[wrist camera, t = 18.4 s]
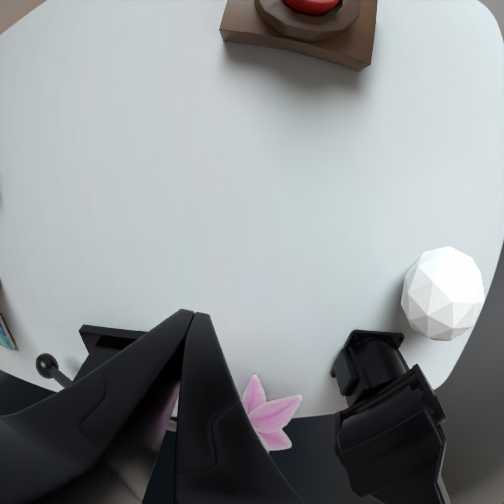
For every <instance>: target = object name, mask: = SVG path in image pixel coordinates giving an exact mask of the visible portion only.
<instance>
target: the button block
mask: <svg viewBox="0 0 504 504" xmlns="http://www.w3.org/2000/svg"><path fill="white" fill-rule="evenodd" d="M376 12H377V0H340V1H339V2H338V4H337V5H336V7H335V8H334V9H333V10H332V11H330V12H328V13H325V14H320V15H311V14H305V13H302V12H299V11H296V10H294V9H293V8H291V7H290V6H288V5H287V4H286V3H285V2H284V1H283V0H228V2H227V5H226V8H225V11H224V15H223V18H222V22H221V25H220V29H219V30H220V33H221V36H222V39H223V41H231V42H240V43H247V44H254V45H260V46H266V47H272V48H277V49H282V50H287V51H291V52H296V53H300V54H304V55H308V56H312V57H316V58H319V59H323V60H326V61H330V62H333V63H336V64H339V65H342V66H345V67H348V68H351V69H354V70H357V71H361V70H363V69H364V68H366V67H368V66H369V65H371V57H372V50H373V42H374V33H375V23H376Z"/></svg>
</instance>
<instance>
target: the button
mask: <svg viewBox="0 0 504 504" xmlns="http://www.w3.org/2000/svg"><path fill="white" fill-rule="evenodd" d="M283 1H284V2H285V3H286V4H287V5H288V6H290V7H291V8H293V9H294V10H296V11H299V12H302V13H305V14H311V15H320V14H325V13H328V12H330V11H332V10H333V9H334V8H335V7H336V5H337V4H338V2H339V1H340V0H283Z"/></svg>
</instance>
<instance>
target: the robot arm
mask: <svg viewBox="0 0 504 504" xmlns="http://www.w3.org/2000/svg"><path fill="white" fill-rule="evenodd" d="M355 335H356V336H355ZM404 338H405V337H404V335H403V334H402V333H392V332H377V331H365V330H354V331H352V332H351V334H350V336H349V338H348V340H347V342H346V344H345V346H344V348H343V349H342V350H341V352H340V354H339V356H338V358H337V360H336V361H335V363H334V365H333V369H332V370H331V372H330V374H331V377H333V378H337V382H338V385H339V389H340V393H341V395H342V396H345V397H346V400H347V404H348V408H346V409H345V410H343V411H339V412H337V413H335V415H336V416H335V418H336V419H335V452H336V456H337V458H338V459H339V460H340V462H341V464H342V465H343V466H344V467H345V468H346V470H347V472H348V475H349V479H350V484H351V488H352V490H353V491H354V492H355V493H356V494H357V495H358V496H360V497H364V496H367V495H369V496H371V497H372V498H374V499H375V500H377V501H379V502H381V503H382V504H451V502H450V500H449V497H448V494H447V491H446V488H445V486H444V483H443V480H442V477H441V474H440V473H441V469H442V464H443V459H444V454H445V448H446V443H447V438H446V436H445V434H444V431H443V429H442V427H441V425H440V424H441V423H442V422H443V421H445V420H446V419H447V418H446V416H445V414H444V412H443V409H442V407H441V405H440V403H439V400H438V398H437V396H436V395H435V393H434V391H433V389H432V387H431V385H430V383H429V382H428V380H427V378H426V377H425V375H424V373H423V372H422V370H421V369H420V367H419V365H418V364H416V365H414V366H413V368H411V369H409V367H408V365H407V364H406V362H405V360H404V358H403V356H402V354H401V353H400V351H399V347H400V345H401V344H402V342H403V340H404ZM178 395H179V400H178V412H177V426H176V442H175V463H174V493H173V504H307V503H306V502H305V501H304V500H303V499H302V498H301V497H300V496H299V495H298V494H297V493H296V492H295V491H294V489H293V488H292V487H291V485H290V484H289V483H288V481H287V480H286V478H285V477H284V476H283V474H282V473H281V471H280V470H279V468H278V467H277V465H276V464H275V463H274V461H273V459H272V458H271V457H270V455H269V453H268V452H267V450H266V449H265V447H264V446H263V444H262V442H261V441H260V439H259V437H258V436H257V434H256V432H255V430H254V429H253V426H252V424H251V422H250V420H249V418H248V416H247V414H246V411H245V409H244V406H243V404H242V401H241V400H240V397H239V394H238V392H237V389H236V387H235V384H234V382H233V379H232V376H231V374H230V371H229V368H228V366H227V363H226V360H225V358H224V355H223V352H222V349H221V347H220V344H219V341H218V338H217V335H216V332H215V329H214V327H213V324H212V321H211V318H210V315H209V314H205V313H200V312H196V313H194V311H190V310H185V309H180V310H179V311H177V312H176V313H174V314H173V315H171V316H170V317H169V318H167V319H166V320H164V321H163V322H162V323H160V324H159V325H157V326H156V327H155V328H153V329H152V330H150V331H149V332H147V333H146V334H145V335H143V336H142V337H140V338H139V339H138V340H136V341H135V342H133V343H132V344H130V345H129V346H128V347H126V348H125V349H123V350H122V351H121V352H119V353H118V354H116V355H115V356H113V357H112V358H111V359H109V360H108V361H106V362H105V363H103V364H102V365H101V367H98V368H96V369H95V370H93V371H92V372H90V373H89V374H87V375H86V376H84V377H83V378H81V379H80V380H78V381H77V382H75V383H73V384H72V385H70V386H68V387H66V388H65V389H63V390H61V391H59V392H57V393H56V394H54V395H52V396H50V397H48V398H46V399H44V400H42V401H40V402H38V403H36V404H34V405H32V406H30V407H28V408H26V409H24V410H22V411H20V412H17V413H14V414H11V415H5V416H0V504H141V503H142V502H141V501H142V500H143V497H144V494H145V490H146V487H147V485H148V481H149V479H150V475H151V472H152V470H153V467H154V464H155V460H156V458H157V455H158V452H159V449H160V446H161V443H162V440H163V437H164V434H165V431H166V429H167V426H168V423H169V420H170V417H171V414H172V412H173V409H174V406H175V403H176V400H177V398H178ZM502 504H504V502H503V503H502Z"/></svg>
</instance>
